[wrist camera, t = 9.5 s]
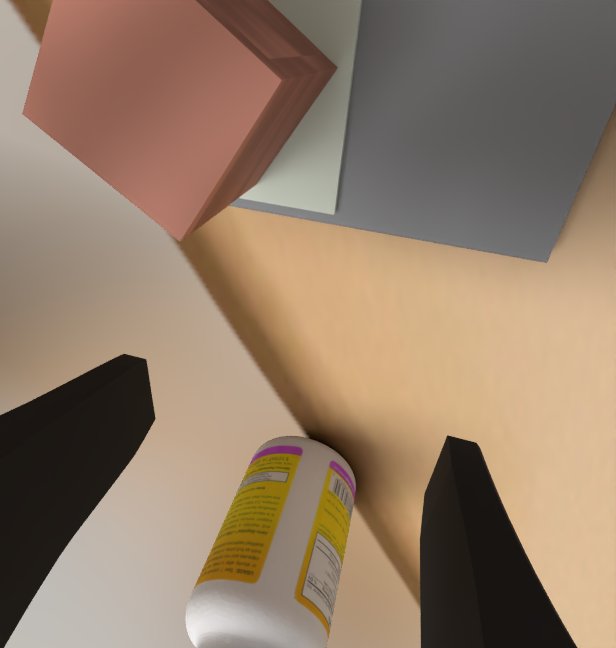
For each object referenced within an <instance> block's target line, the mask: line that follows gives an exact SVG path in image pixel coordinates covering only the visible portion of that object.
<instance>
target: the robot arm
mask: <svg viewBox="0 0 616 648" xmlns="http://www.w3.org/2000/svg"><path fill="white" fill-rule="evenodd" d="M154 421H155V413H154V407H153V400H152V394H151V387H150V381H149V375H148V367H147V361H146V359H143V358H139V357H134V356H131V355H127V354H123V355H120V356H118V357H116V358H114V359H112V360H110V361H108V362H106V363H104V364H102V365H100V366H98V367H96V368H94V369H92V370H90V371H88V372H87V373H84V374H83V375H81V376H79V377H77V378H75V379H73V380H71V381H69V382H67V383H65V384H63V385H61V386H59V387H57V388H56V389H53V390H52V391H50V392H48V393H46V394H44V395H42V396H40V397H38V398H36V399H34V400H32V401H30V402H28V403H26V404H24V405H21V406H19V407H17V408H15V409H13V410H11V411H9V412H7V413H5V414H2V415H0V648H4V647H5V644H6V643H7V641H8V640H9V638H10V636H11V635H12V633H13V631H14V630H15V628H16V626H17V624H18V623H19V621H20V619H21V618H22V616H23V614H24V613H25V611H26V609H27V608H28V606H29V604H30V603H31V601H32V599H33V598H34V596H35V594H36V593H37V591H38V590H39V588H40V586H41V585H42V583H43V581H44V580H45V578H46V577H47V575H48V574H49V572H50V570H51V569H52V567H53V566H54V564H55V562H56V561H57V559H58V558H59V556H60V555H61V553H62V552H63V550H64V549H65V547H66V546H67V545H68V543H69V542H70V540H71V539H72V538H73V536H74V535H75V534H76V532H77V531H78V530H79V528H80V527H81V526H82V524H83V523H84V522H85V520H86V519H87V518H88V516H89V515H90V514H91V512H92V511H93V510H94V509H95V507H96V506H97V505H98V503H99V502H100V501H101V499H102V498H103V497H104V495H105V494H106V493H107V491H108V490H109V489H110V488H111V486H112V485H113V484H114V482H115V481H116V480H117V478H118V477H119V476H120V474H121V473H122V471H123V470H124V469H125V468H126V466H127V465H128V464H129V462H130V461H131V459H132V458H133V457H134V455H135V454H136V452H137V450H138V449H139V447H140V445H141V443H142V442H143V440H144V439H145V437H146V435H147V433H148V431H149V430H150V427H151V426H152V424H153V422H154ZM420 601H421V648H577V646H576V645H575V643H574V641H573V640H572V638H571V636H570V635H569V633H568V631H567V629H566V628H565V626H564V624H563V622H562V621H561V619H560V617H559V615H558V614H557V612H556V610H555V608H554V606H553V605H552V603H551V601H550V599H549V597H548V595H547V593H546V592H545V590H544V588H543V586H542V584H541V582H540V580H539V578H538V577H537V575H536V573H535V571H534V569H533V567H532V565H531V563H530V561H529V559H528V557H527V555H526V553H525V551H524V549H523V547H522V544H521V542H520V540H519V538H518V536H517V534H516V532H515V530H514V528H513V526H512V524H511V521H510V519H509V517H508V515H507V513H506V510H505V508H504V506H503V504H502V501H501V499H500V497H499V494H498V492H497V490H496V487H495V485H494V482H493V480H492V478H491V475H490V473H489V470H488V468H487V465H486V462H485V460H484V457H483V455H482V452H481V449H480V447H479V446H478V444H477V443H475V442H471V441H467V440H463V439H459V438H455V437H451V436H447V438H446V441H445V443H444V446H443V448H442V451H441V453H440V456H439V458H438V461H437V464H436V466H435V469H434V471H433V474H432V476H431V479H430V481H429V484H428V486H427V489H426V492H425V496H424V505H423V514H422V525H421V535H420Z"/></svg>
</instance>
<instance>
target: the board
mask: <svg viewBox="0 0 616 648" xmlns="http://www.w3.org/2000/svg"><path fill="white" fill-rule="evenodd" d="M268 1H269V2H270V3H271V4H272V5H273V6H274V7H275V8H277V9H278V10H279V11H280V12H281V13H282V14H283V15H284V16H285V17H286V18H287V19H288V20H289V21H290V22H291V23H292V24H293V25H294V26H295V27H296V28H297V29H298V30H299V31H300V32H301V33H302V34H304V35H305V36H306V37H307V38H308V39H309V40H310V41H311V42H312V43H313V44H314V45H315V46H316V47H317V48H318V49H319V50H320V51H321V52H322V53H323V54H324V55H325V56H326V57H327V58H328V59H329V60H331V61H332V62H333V63H334V64H335V65H336V66H337V67H338V68H337V70H336V71H335V73H334V74H333V76H332V77H331V79H330V80H329V81H328V83H327V84H326V86H325V87H324V89H323V90H322V91H321V93H320V94H319V96H318V97H317V99H316V100H315V101H314V103H313V104H312V106H311V107H310V109H309V110H308V111H307V113H306V114H305V116H304V117H303V119H302V120H301V121H300V123H299V124H298V126H297V127H296V129H295V130H294V131H293V133H292V134H291V136H290V137H289V139H288V140H287V142H286V143H285V144H284V146H283V147H282V149H281V150H280V152H279V153H278V154H277V156H276V157H275V159H274V160H273V162H272V163H271V164H270V166H269V167H268V169H267V170H266V172H265V173H264V174H263V176H262V177H261V179H260V180H259V182H258V183H257V184H256V185H255V186H254V187H253V188H251V189H250V190H249V191H247V192H246V193H244V194H243V195H242V196H240V197H239V198H238V199H236V200H235V201H234V202H232V203H231V204H230V205H228V206H233V207H239V208H244V209H250V210H256V211H261V212H267V213H272V214H278V215H283V216H289V217H295V218H300V219H306V220H311V221H317V222H322V223H328V224H333V225H339V226H345V227H350V228H356V229H361V230H367V231H372V232H378V233H384V234H389V235H395V236H400V237H406V238H411V239H417V240H422V241H428V242H434V243H439V244H445V245H450V246H456V247H461V248H467V249H472V250H478V251H484V252H489V253H495V254H500V255H506V256H511V257H517V258H523V259H528V260H534V261H539V262H545V263H547V261H548V259H549V257H550V254H551V252H552V250H553V247H554V245H555V243H556V241H557V238H558V236H559V234H560V231H561V229H562V227H563V224H564V222H565V220H566V218H567V215H568V213H569V211H570V208H571V206H572V204H573V201H574V199H575V197H576V195H577V192H578V190H579V188H580V185H581V183H582V181H583V179H584V176H585V174H586V172H587V169H588V167H589V165H590V162H591V160H592V158H593V156H594V153H595V151H596V149H597V146H598V144H599V142H600V139H601V137H602V135H603V133H604V130H605V128H606V126H607V123H608V121H609V119H610V116H611V114H612V112H613V110H614V107H615V105H616V0H268Z"/></svg>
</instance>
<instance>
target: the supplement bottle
mask: <svg viewBox="0 0 616 648" xmlns="http://www.w3.org/2000/svg"><path fill="white" fill-rule="evenodd" d="M355 490H356V483H355V478H354V474H353V472H352V470H351V468H350V466H349V465H348V463H347V462H346V461H345V460H344V459H343V457H342V456H340V455H339V454H338V453H337V452H336V451H334V450H333V449H331V448H329V447H328V446H326V445H324V444H322V443H320V442H317V441H315V440H312V439H308V438H304V437H298V436H286V437H279V438H275V439H272V440H270V441H268V442H266V443H265V444H263V445H262V446H261V447H260V448H259V449H258V450H257V452H256V453H255V455H254V456H253V458H252V461H251V463H250V465H249V467H248V469H247V471H246V474H245V476H244V478H243V480H242V483H241V485H240V487H239V489H238V491H237V494H236V496H235V498H234V500H233V503H232V505H231V507H230V509H229V511H228V514H227V516H226V518H225V520H224V523H223V525H222V527H221V530H220V532H219V534H218V536H217V538H216V541H215V543H214V545H213V548H212V550H211V552H210V554H209V556H208V558H207V561H206V563H205V565H204V567H203V569H202V572H201V574H200V576H199V578H198V580H197V583H196V585H195V587H194V590H193V592H192V595H191V597H190V599H189V602H188V605H187V609H186V617H185V619H186V627H187V631H188V634H189V637H190V639H191V641H192V643H193V644H194V645H195V647H196V648H326V647H327V642H328V638H329V632H330V627H331V621H332V615H333V611H334V605H335V600H336V594H337V589H338V584H339V578H340V573H341V568H342V563H343V558H344V553H345V548H346V542H347V537H348V531H349V526H350V521H351V515H352V510H353V505H354V499H355Z"/></svg>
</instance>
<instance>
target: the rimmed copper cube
mask: <svg viewBox="0 0 616 648" xmlns="http://www.w3.org/2000/svg"><path fill="white" fill-rule="evenodd" d="M337 68H338V67H337V66H336V65H335V64H334V63H333V62H332V61H331V60H329V59H328V58H327V57H326V56H325V55H324V54H323V53H322V52H321V51H320V50H319V49H318V48H317V47H316V46H315V45H314V44H313V43H312V42H311V41H310V40H309V39H308V38H307V37H306V36H305V35H304V34H302V33H301V32H300V31H299V30H298V29H297V28H296V27H295V26H294V25H293V24H292V23H291V22H290V21H289V20H288V19H287V18H286V17H285V16H284V15H283V14H282V13H281V12H280V11H279V10H278V9H277V8H275V7H274V6H273V5H272V4H271V3H270V2H269V1H268V0H53V2H52V6H51V9H50V13H49V17H48V21H47V24H46V28H45V32H44V35H43V39H42V43H41V47H40V50H39V54H38V58H37V61H36V65H35V69H34V73H33V76H32V80H31V84H30V87H29V91H28V95H27V99H26V103H25V106H24V110H23V115H24V116H26V117H27V118H28V119H29V120H31V121H32V122H33V123H34V124H36V125H37V126H38V127H39V128H40V129H42V130H43V131H44V132H45V133H47V134H48V135H49V136H50V137H51V138H53V139H54V140H56V141H57V142H58V143H59V144H60V145H61V146H63V147H64V148H65V149H66V150H68V151H69V152H70V153H71V154H72V155H74V156H75V157H76V158H77V159H79V160H80V161H81V162H82V163H84V164H85V165H86V166H87V167H88V168H90V169H91V170H92V171H93V172H95V173H96V174H97V175H98V176H100V177H101V178H102V179H103V180H105V181H106V182H107V183H108V184H109V185H111V186H112V187H113V188H114V189H116V190H117V191H118V192H119V193H121V194H122V195H123V196H124V197H125V198H127V199H128V200H129V201H130V202H132V203H133V204H134V205H135V206H137V207H138V208H139V209H140V210H142V211H143V212H144V213H145V214H146V215H148V216H149V217H150V218H151V219H153V220H154V221H155V222H156V223H158V224H159V225H160V226H161V227H163V228H164V229H165V230H166V231H167V232H169V233H170V234H171V235H172V236H174V237H175V238H176V239H177V240H179V241H182V240H183V239H184V238H186V237H187V236H188V235H190V234H191V233H192V232H194V231H195V230H196V229H198V228H199V227H200V226H202V225H203V224H204V223H206V222H207V221H208V220H210V219H211V218H212V217H214V216H215V215H216V214H218V213H219V212H220V211H222V210H223V209H224V208H226V207H227V206H228V205H230V204H231V203H232V202H234V201H235V200H236V199H238V198H239V197H240V196H242V195H243V194H244V193H246V192H247V191H249V190H250V189H251V188H253V187H254V186H255V185H256V184H257V183H258V182H259V180H260V179H261V177H262V176H263V174H264V173H265V172H266V170H267V169H268V167H269V166H270V164H271V163H272V162H273V160H274V159H275V157H276V156H277V154H278V153H279V152H280V150H281V149H282V147H283V146H284V144H285V143H286V142H287V140H288V139H289V137H290V136H291V134H292V133H293V131H294V130H295V129H296V127H297V126H298V124H299V123H300V121H301V120H302V119H303V117H304V116H305V114H306V113H307V111H308V110H309V109H310V107H311V106H312V104H313V103H314V101H315V100H316V99H317V97H318V96H319V94H320V93H321V91H322V90H323V89H324V87H325V86H326V84H327V83H328V81H329V80H330V79H331V77H332V76H333V74H334V73H335V71H336V70H337Z"/></svg>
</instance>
